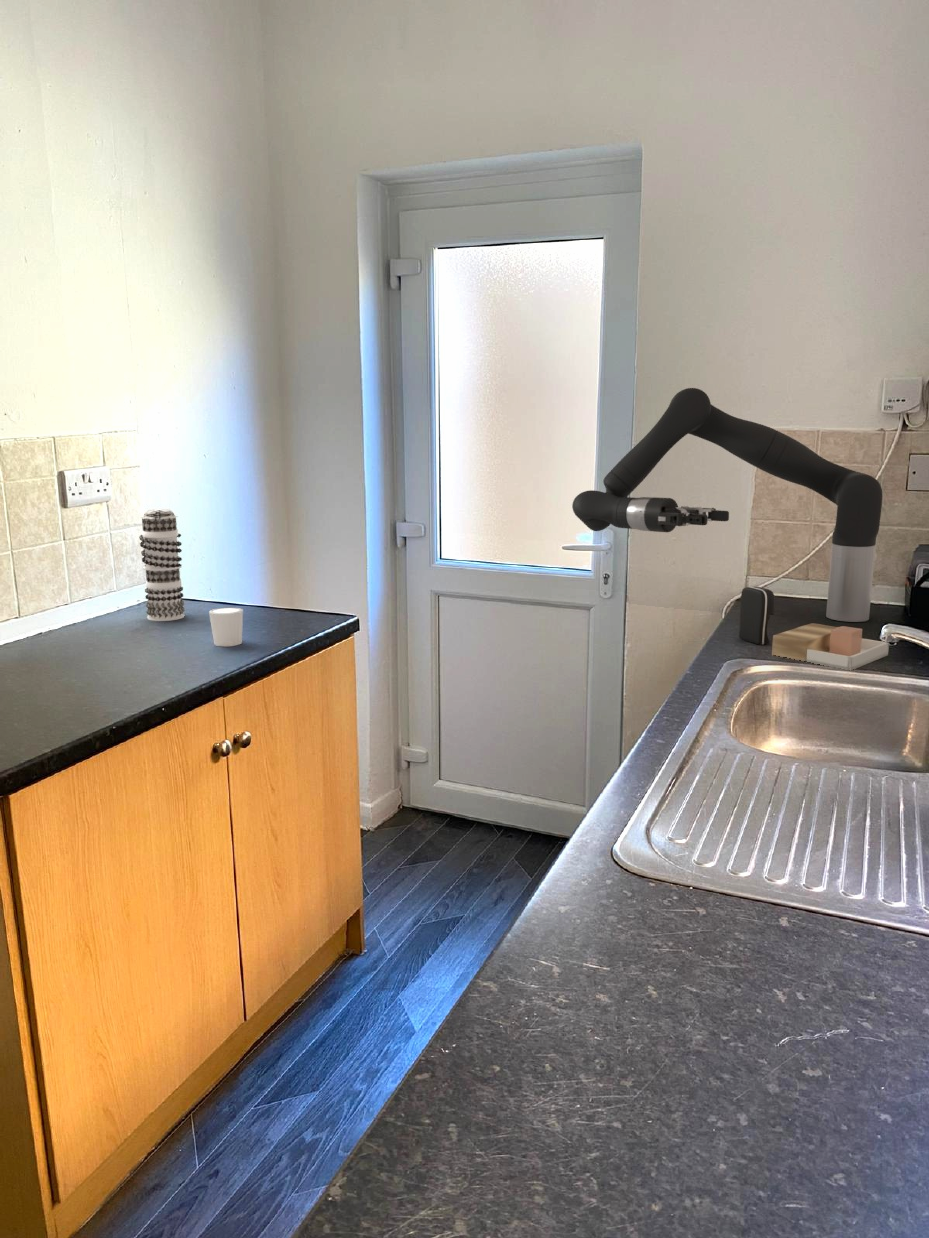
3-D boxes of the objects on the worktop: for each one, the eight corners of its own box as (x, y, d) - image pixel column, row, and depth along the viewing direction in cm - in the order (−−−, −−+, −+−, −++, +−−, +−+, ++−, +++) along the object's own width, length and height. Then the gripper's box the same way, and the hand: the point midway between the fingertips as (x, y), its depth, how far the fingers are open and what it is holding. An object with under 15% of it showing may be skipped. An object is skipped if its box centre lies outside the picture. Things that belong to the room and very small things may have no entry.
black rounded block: (774, 644, 197) (778, 589, 194) (760, 646, 195) (763, 591, 193) (751, 637, 203) (755, 584, 201) (737, 639, 202) (740, 585, 199)
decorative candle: (147, 614, 228) (140, 508, 222) (188, 612, 229) (181, 508, 224) (142, 622, 219) (134, 512, 214) (184, 620, 221) (177, 511, 215)
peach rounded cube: (842, 625, 188) (862, 629, 185) (840, 650, 189) (860, 654, 186) (831, 629, 185) (851, 633, 182) (829, 655, 186) (849, 658, 183)
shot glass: (247, 645, 197) (245, 612, 196) (213, 648, 195) (211, 614, 193) (242, 638, 203) (240, 605, 202) (209, 641, 201) (207, 608, 199)
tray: (845, 647, 194) (846, 635, 193) (888, 655, 188) (889, 642, 187) (806, 662, 183) (807, 649, 182) (850, 670, 177) (851, 657, 176)
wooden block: (810, 641, 199) (811, 623, 198) (843, 647, 194) (844, 628, 193) (771, 655, 188) (773, 635, 187) (805, 661, 183) (807, 641, 182)
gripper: (633, 499, 207) (699, 502, 195) (670, 494, 216) (735, 497, 205) (633, 534, 208) (698, 539, 197) (670, 528, 218) (734, 532, 207)
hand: (717, 518), depth 201 cm, fingers open, 8 cm apart
